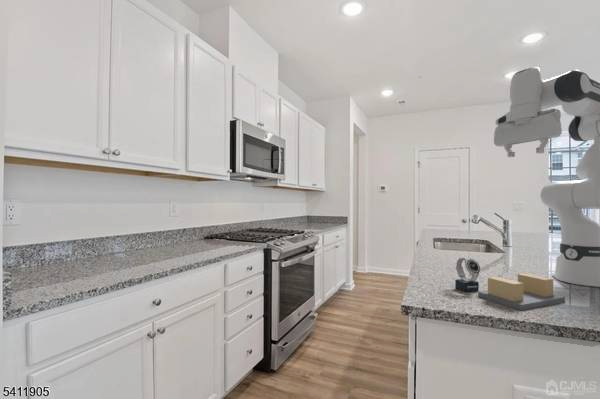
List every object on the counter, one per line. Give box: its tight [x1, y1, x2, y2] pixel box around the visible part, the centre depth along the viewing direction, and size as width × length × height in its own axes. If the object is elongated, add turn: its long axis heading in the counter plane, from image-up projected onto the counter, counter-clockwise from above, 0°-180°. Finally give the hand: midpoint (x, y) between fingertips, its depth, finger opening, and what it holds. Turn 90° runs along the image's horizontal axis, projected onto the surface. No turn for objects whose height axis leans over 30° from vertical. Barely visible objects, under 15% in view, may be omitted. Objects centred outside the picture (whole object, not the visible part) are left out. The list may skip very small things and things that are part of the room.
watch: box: [454, 256, 481, 293], centre depth 102 cm, size 6×8×11 cm
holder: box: [477, 272, 566, 311], centre depth 93 cm, size 20×13×6 cm, turn 111°
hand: (525, 155), depth 103 cm, fingers open, 8 cm apart
